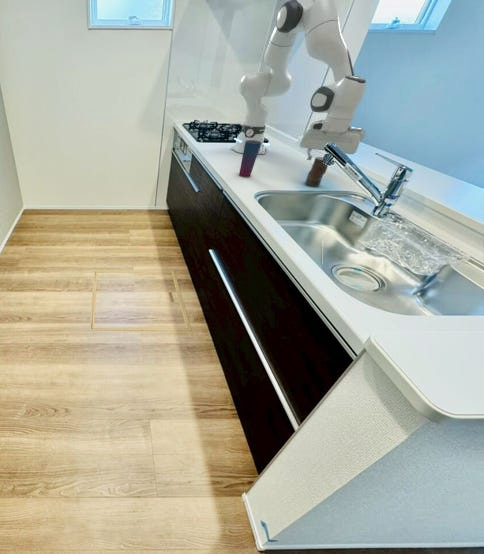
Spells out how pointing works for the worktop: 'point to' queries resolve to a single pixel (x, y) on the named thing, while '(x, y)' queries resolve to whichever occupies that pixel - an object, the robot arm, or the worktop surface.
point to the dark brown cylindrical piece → (315, 176)
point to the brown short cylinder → (319, 162)
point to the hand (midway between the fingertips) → (321, 161)
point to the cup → (249, 157)
